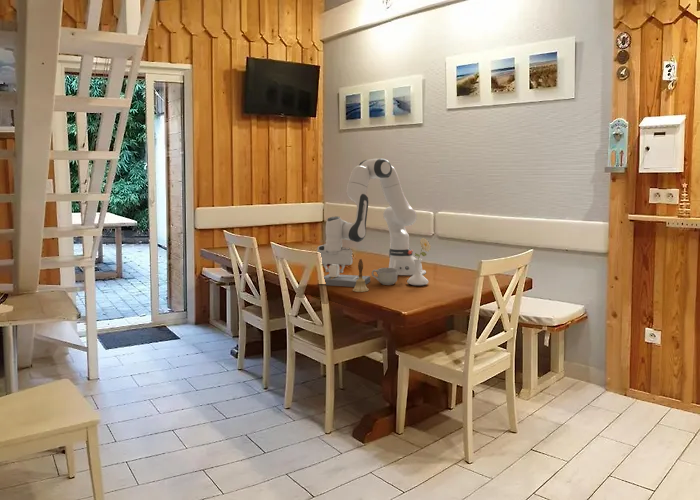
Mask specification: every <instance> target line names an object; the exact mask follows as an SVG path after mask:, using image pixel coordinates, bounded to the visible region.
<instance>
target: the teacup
mask: <svg viewBox="0 0 700 500" xmlns="http://www.w3.org/2000/svg"><path fill="white" fill-rule="evenodd" d="M374 273H376V275H377V276H376V275H375V274H374ZM397 274H398V270H397V269H395V268H389V267H380V268H377V269H373V270H372V271H371V277H373V278H374V279H376V281H377V282H379V283H380V284H381V285H384V286H391V285H395V283H397V281H398V275H397Z"/></svg>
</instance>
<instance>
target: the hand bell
mask: <svg viewBox="0 0 700 500" xmlns="http://www.w3.org/2000/svg"><path fill="white" fill-rule="evenodd" d="M357 269H358V276H359V279H357V280H356V285H355V287H353V288H352V292H356V293H365V292H369V290H370V289H369V288H368V287H367V284H365V280H364V279H362V276H363V269H364V261H363V260H362V258H360V259H359V260H358V264H357Z"/></svg>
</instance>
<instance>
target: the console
mask: <svg viewBox="0 0 700 500" xmlns="http://www.w3.org/2000/svg"><path fill="white" fill-rule="evenodd" d="M323 277H324V279H325V282H326V285H325V286H333V287H334V286H335V287H348V288H349V287H350V288H354V287H355V285H356V280H357V279H359V275H357V274H356V275H355V274H353V275H352V274H339V276H338V277H329V273H328V274H326V275H324V276H323ZM362 279H364V280H365V284H366V285H368V284H369V283H371V276H369V275H362Z"/></svg>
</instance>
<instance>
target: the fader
mask: <svg viewBox="0 0 700 500" xmlns="http://www.w3.org/2000/svg"><path fill="white" fill-rule="evenodd" d="M328 268H329V272H328V274H329V277H338V276H339V275H340V273H339V272H340V271H339V270H340V265H337V264H329V266H328Z"/></svg>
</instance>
